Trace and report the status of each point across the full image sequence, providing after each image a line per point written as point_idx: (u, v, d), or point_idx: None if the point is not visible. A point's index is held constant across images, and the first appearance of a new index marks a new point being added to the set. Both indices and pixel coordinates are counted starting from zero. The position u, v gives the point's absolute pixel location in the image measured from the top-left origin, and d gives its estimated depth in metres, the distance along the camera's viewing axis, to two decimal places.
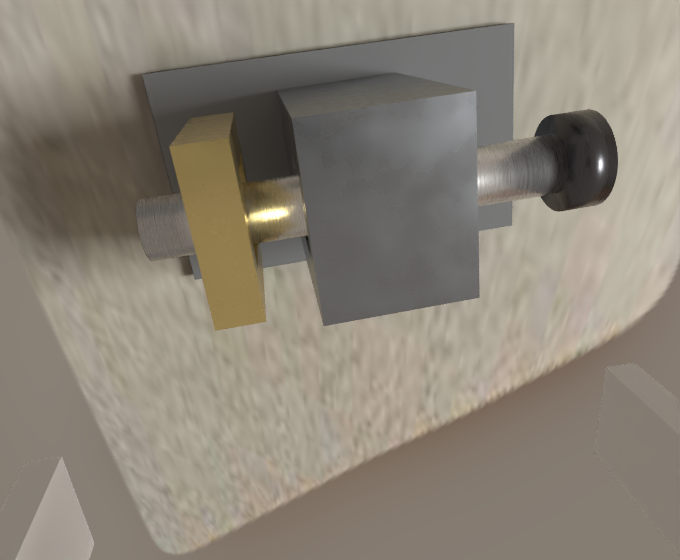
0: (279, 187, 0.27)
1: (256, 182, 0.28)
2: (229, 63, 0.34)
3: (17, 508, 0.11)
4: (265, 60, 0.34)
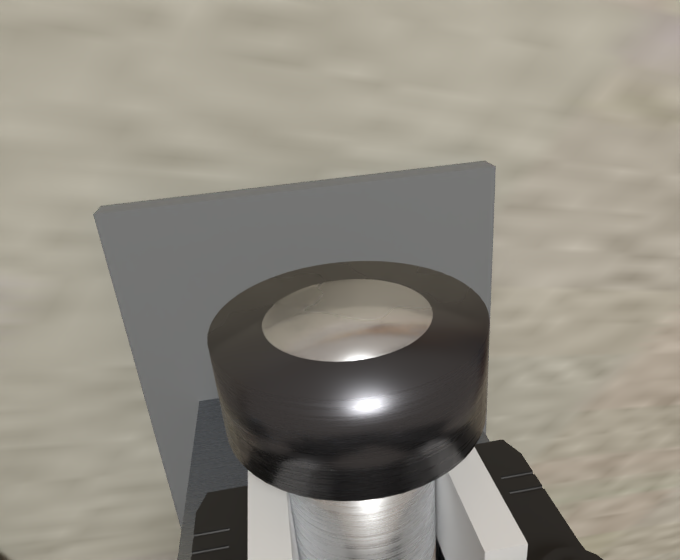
0: None
1: None
2: None
3: None
4: None
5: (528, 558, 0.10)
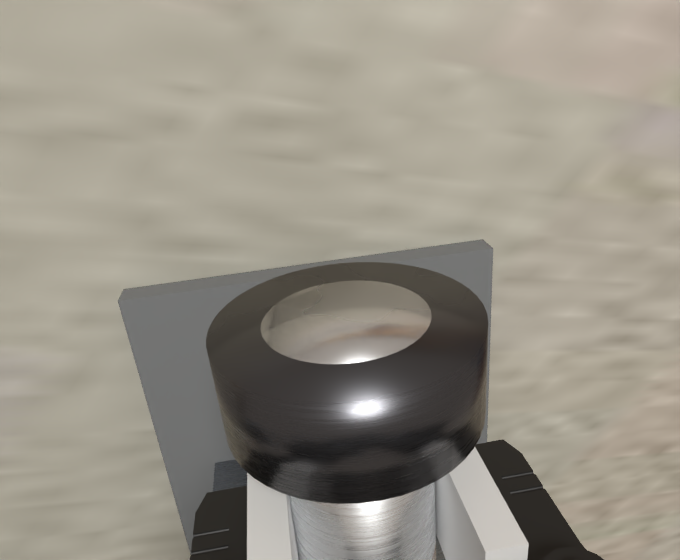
0: None
1: None
2: None
3: None
4: None
5: (529, 558, 0.10)
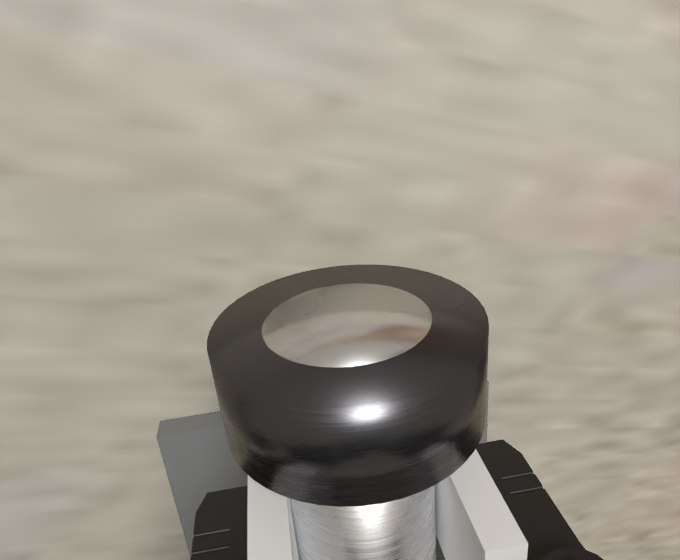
0: None
1: None
2: None
3: None
4: None
5: (528, 558, 0.10)
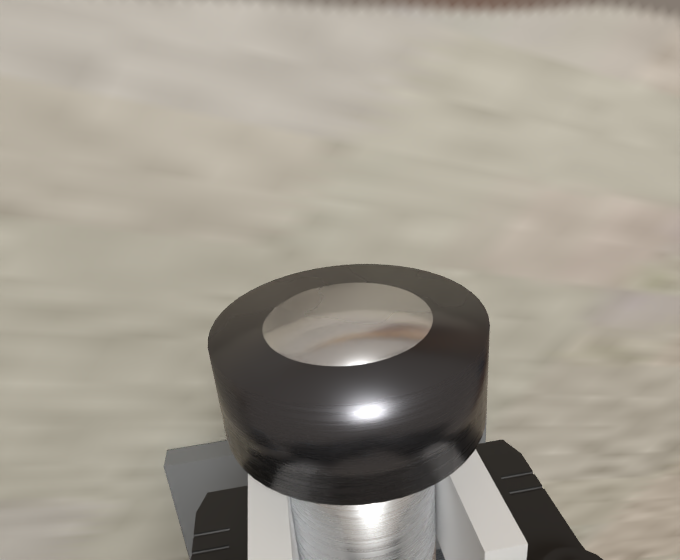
0: None
1: None
2: None
3: None
4: None
5: (528, 558, 0.10)
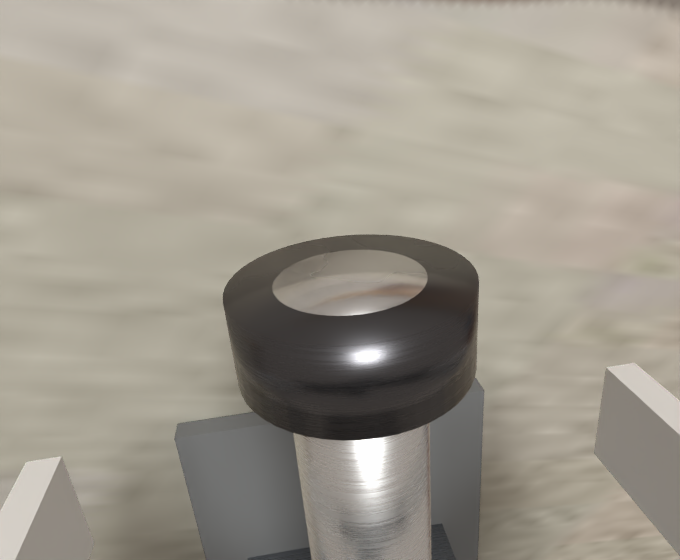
0: None
1: None
2: None
3: (17, 507, 0.11)
4: None
5: None
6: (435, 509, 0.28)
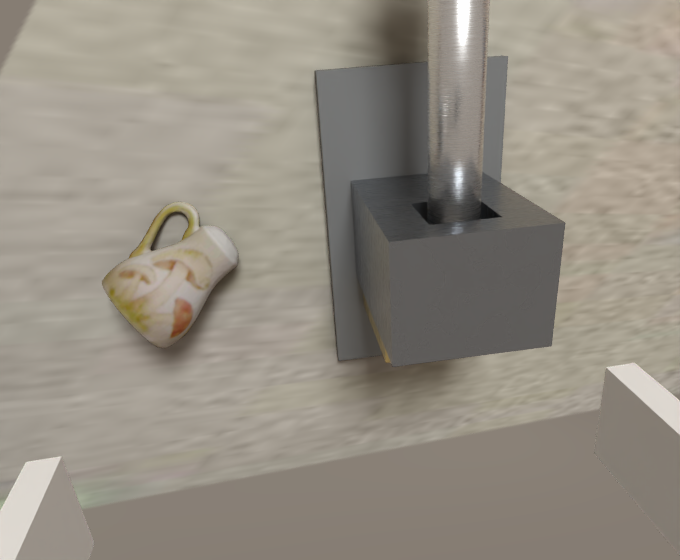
0: (436, 185, 0.32)
1: (429, 200, 0.33)
2: (335, 306, 0.46)
3: (17, 507, 0.11)
4: (334, 282, 0.45)
5: None
6: None
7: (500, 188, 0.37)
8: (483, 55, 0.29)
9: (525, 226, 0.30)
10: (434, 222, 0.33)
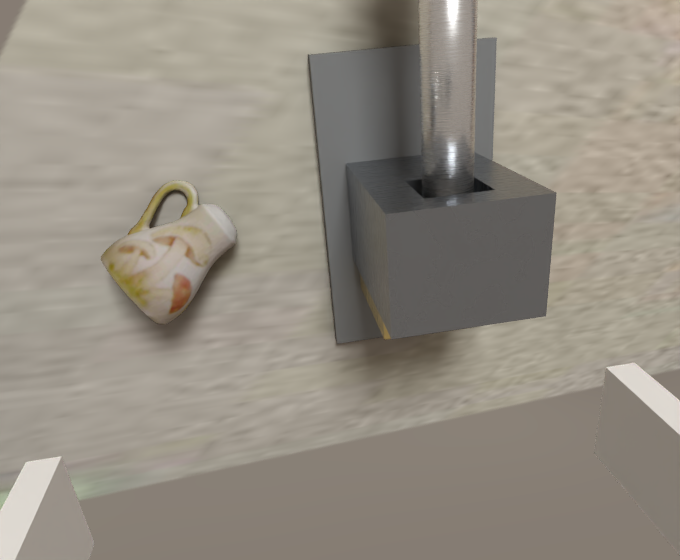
0: (430, 160, 0.33)
1: (423, 175, 0.34)
2: (332, 289, 0.47)
3: (17, 508, 0.11)
4: (331, 265, 0.46)
5: None
6: None
7: (492, 165, 0.38)
8: (473, 30, 0.30)
9: (517, 197, 0.31)
10: (429, 197, 0.34)
